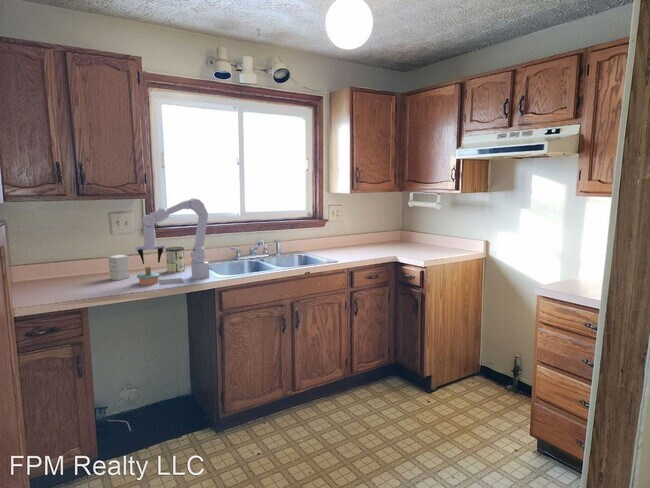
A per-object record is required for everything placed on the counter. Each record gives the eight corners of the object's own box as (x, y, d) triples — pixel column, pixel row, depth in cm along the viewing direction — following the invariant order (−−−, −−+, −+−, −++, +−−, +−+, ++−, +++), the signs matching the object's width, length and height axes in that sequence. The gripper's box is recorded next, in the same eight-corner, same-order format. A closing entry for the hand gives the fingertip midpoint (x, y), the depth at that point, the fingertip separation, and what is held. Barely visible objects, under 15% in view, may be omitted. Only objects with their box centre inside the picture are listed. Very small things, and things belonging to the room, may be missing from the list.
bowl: (157, 280, 229) (157, 273, 229) (158, 284, 221) (158, 277, 221) (139, 282, 226) (138, 275, 225) (139, 286, 218) (139, 278, 217)
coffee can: (171, 269, 258) (170, 246, 256) (187, 269, 257) (186, 246, 255) (163, 273, 248) (162, 249, 246) (180, 273, 247) (179, 249, 245)
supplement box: (121, 276, 239) (120, 254, 237) (130, 278, 235) (128, 255, 233) (109, 279, 233) (107, 256, 231) (117, 280, 229) (116, 257, 227)
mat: (181, 278, 235) (181, 277, 235) (184, 283, 224) (184, 282, 224) (158, 280, 230) (158, 279, 230) (159, 285, 219) (159, 285, 219)
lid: (158, 273, 230) (158, 264, 229) (160, 277, 220) (159, 268, 219) (136, 274, 226) (136, 266, 225) (137, 279, 216) (136, 270, 215)
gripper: (134, 239, 217) (136, 265, 219) (165, 237, 223) (166, 263, 225) (134, 237, 223) (136, 262, 225) (163, 236, 229) (165, 260, 232)
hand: (151, 262), depth 226 cm, fingers open, 7 cm apart
